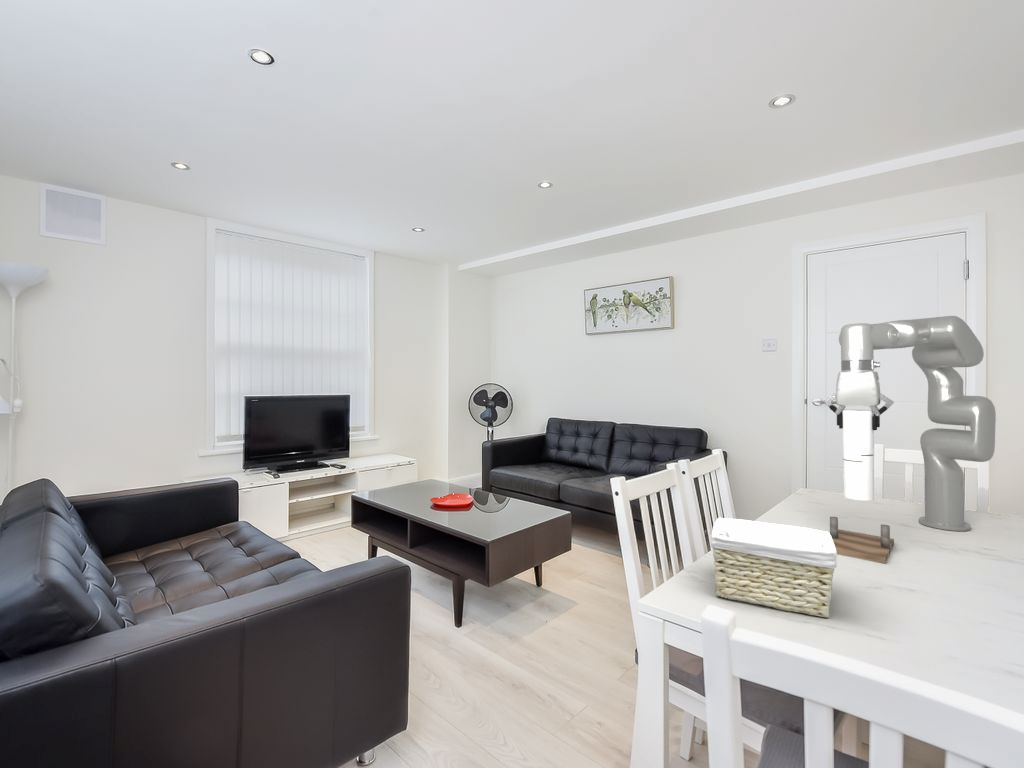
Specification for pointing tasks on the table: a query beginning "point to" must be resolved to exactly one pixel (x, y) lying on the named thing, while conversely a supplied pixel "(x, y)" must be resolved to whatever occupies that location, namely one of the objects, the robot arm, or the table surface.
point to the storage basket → (774, 565)
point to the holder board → (862, 543)
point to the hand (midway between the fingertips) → (857, 428)
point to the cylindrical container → (858, 455)
